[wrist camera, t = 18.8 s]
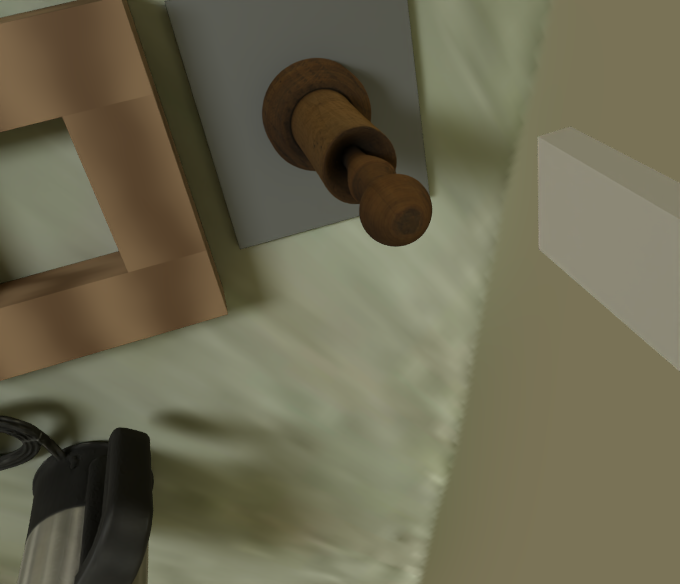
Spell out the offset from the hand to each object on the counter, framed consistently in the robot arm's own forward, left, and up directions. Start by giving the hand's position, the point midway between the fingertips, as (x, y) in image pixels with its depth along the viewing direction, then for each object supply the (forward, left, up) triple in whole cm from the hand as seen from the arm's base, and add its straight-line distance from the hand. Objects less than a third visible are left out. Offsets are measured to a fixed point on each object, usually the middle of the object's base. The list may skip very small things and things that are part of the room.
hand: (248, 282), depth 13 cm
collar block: (-13, -6, -29) cm, 32 cm away
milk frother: (-19, -27, -29) cm, 44 cm away
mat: (+6, -5, -29) cm, 30 cm away
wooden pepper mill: (+6, -5, -29) cm, 30 cm away
